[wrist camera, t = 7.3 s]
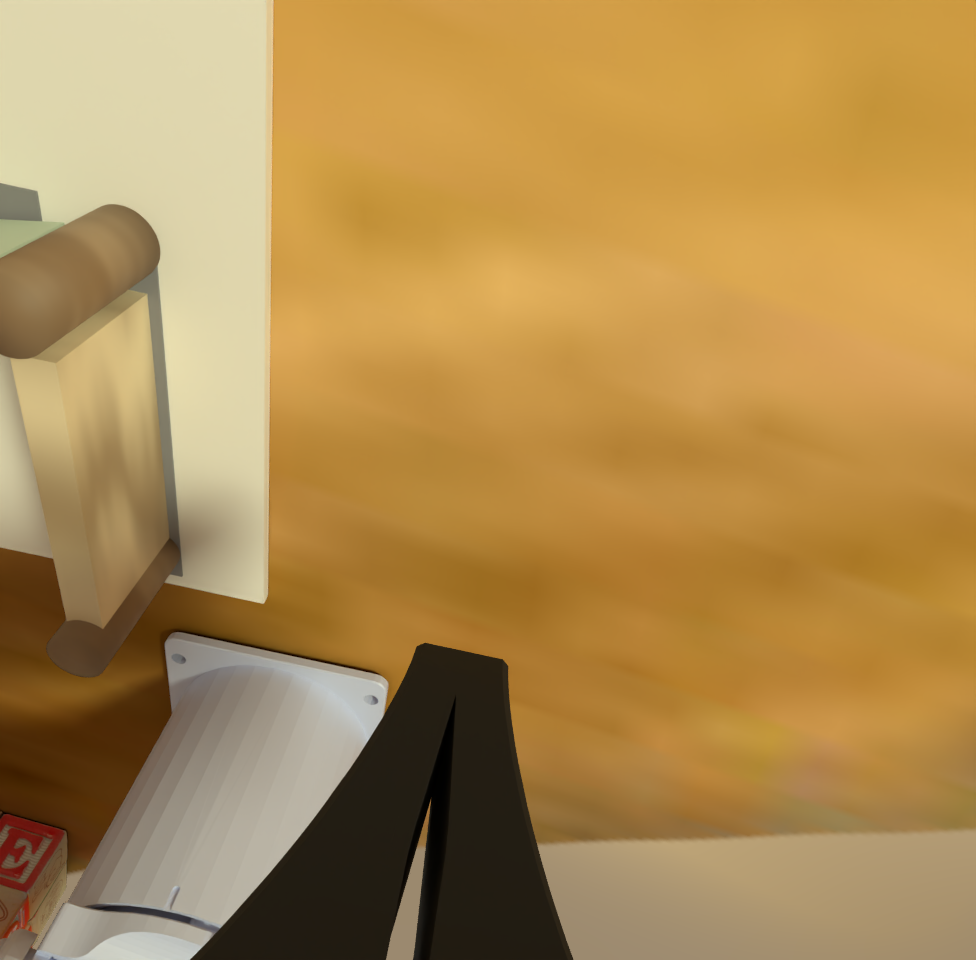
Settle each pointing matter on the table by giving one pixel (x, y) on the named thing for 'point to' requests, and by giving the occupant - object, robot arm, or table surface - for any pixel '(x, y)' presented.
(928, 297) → the table surface
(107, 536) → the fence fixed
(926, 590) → the table surface
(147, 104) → the card
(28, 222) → the pale green bar
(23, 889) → the stack of blocks
